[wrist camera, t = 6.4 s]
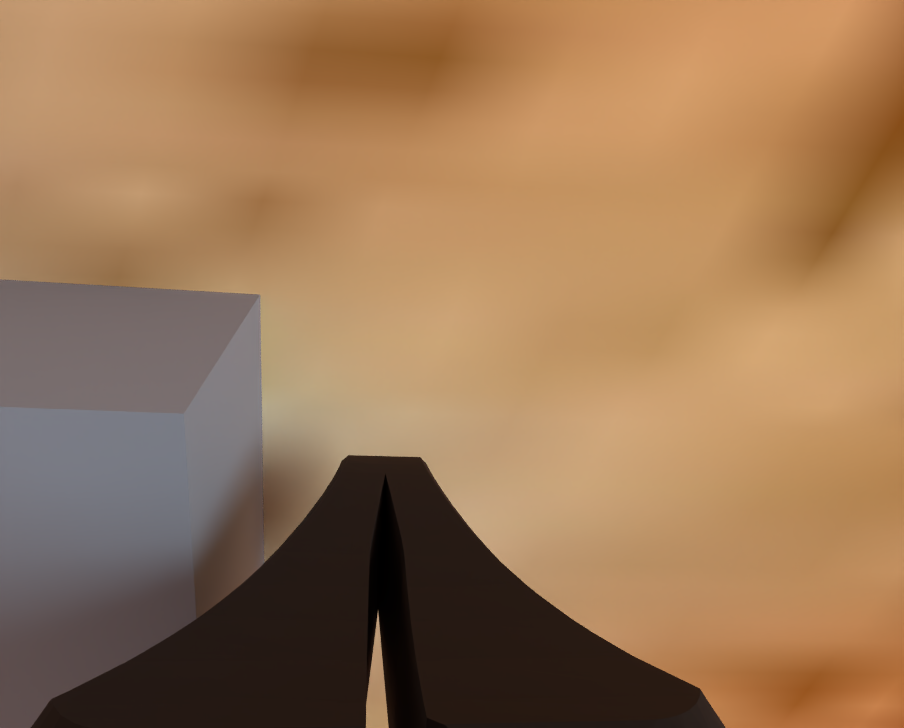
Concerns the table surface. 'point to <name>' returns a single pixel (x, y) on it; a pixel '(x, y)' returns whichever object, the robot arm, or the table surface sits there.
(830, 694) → the table surface
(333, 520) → the robot arm
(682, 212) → the table surface
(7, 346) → the slate block
